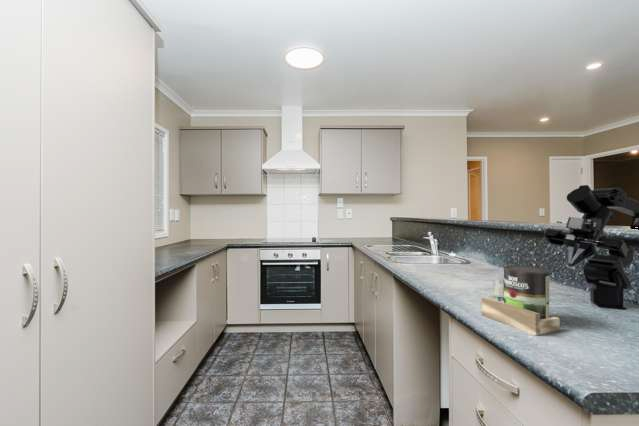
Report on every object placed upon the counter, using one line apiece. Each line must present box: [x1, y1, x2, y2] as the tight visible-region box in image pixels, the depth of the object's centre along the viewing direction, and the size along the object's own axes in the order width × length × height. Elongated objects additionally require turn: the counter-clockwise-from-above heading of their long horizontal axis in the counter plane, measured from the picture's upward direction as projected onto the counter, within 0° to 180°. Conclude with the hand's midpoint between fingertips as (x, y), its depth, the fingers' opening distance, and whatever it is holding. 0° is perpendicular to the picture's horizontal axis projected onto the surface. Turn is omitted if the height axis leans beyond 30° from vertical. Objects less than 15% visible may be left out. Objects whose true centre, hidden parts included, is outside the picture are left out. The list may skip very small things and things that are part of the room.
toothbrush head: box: [491, 277, 504, 302], centre depth 104 cm, size 5×7×25 cm
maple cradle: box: [480, 296, 561, 336], centre depth 78 cm, size 8×15×5 cm, turn 20°
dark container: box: [502, 264, 551, 320], centre depth 80 cm, size 10×10×14 cm
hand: (570, 265), depth 87 cm, fingers closed
